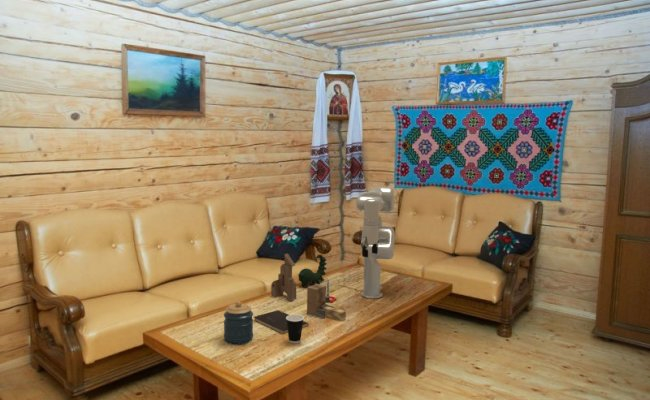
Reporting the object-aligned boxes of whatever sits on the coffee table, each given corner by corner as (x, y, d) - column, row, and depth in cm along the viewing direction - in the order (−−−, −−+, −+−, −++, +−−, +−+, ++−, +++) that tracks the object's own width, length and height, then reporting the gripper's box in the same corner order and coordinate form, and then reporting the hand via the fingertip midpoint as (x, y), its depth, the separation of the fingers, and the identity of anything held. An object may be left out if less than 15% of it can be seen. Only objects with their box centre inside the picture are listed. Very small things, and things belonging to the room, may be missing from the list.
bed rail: (346, 319, 251) (346, 309, 251) (341, 321, 248) (341, 311, 247) (325, 313, 259) (325, 303, 258) (320, 315, 255) (320, 306, 254)
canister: (255, 343, 220) (255, 305, 217) (225, 346, 216) (224, 307, 214) (250, 332, 232) (251, 295, 230) (222, 335, 228) (222, 297, 226)
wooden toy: (270, 296, 285) (270, 253, 282) (278, 293, 290) (279, 251, 287) (290, 302, 275) (291, 257, 272) (298, 299, 281) (299, 255, 277)
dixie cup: (303, 344, 220) (304, 320, 218) (285, 345, 219) (285, 320, 218) (303, 337, 227) (303, 314, 226) (285, 337, 227) (286, 314, 225)
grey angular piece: (316, 309, 265) (316, 283, 263) (333, 313, 258) (334, 287, 256) (306, 313, 258) (307, 287, 256) (323, 318, 251) (324, 291, 250)
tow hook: (322, 297, 286) (319, 301, 277) (323, 275, 285) (320, 279, 276) (336, 298, 284) (334, 303, 275) (337, 276, 283) (335, 280, 274)
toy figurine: (316, 281, 320) (291, 287, 300) (319, 252, 319) (293, 256, 299) (328, 284, 315) (303, 290, 295) (330, 254, 314) (305, 258, 294)
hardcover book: (282, 335, 231) (282, 330, 230) (253, 321, 247) (253, 316, 247) (308, 326, 242) (308, 322, 241) (278, 314, 258) (279, 309, 258)
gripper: (373, 219, 266) (372, 251, 269) (355, 224, 252) (354, 257, 255) (385, 221, 262) (384, 253, 264) (368, 225, 248) (367, 259, 250)
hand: (369, 255), depth 259 cm, fingers open, 9 cm apart
